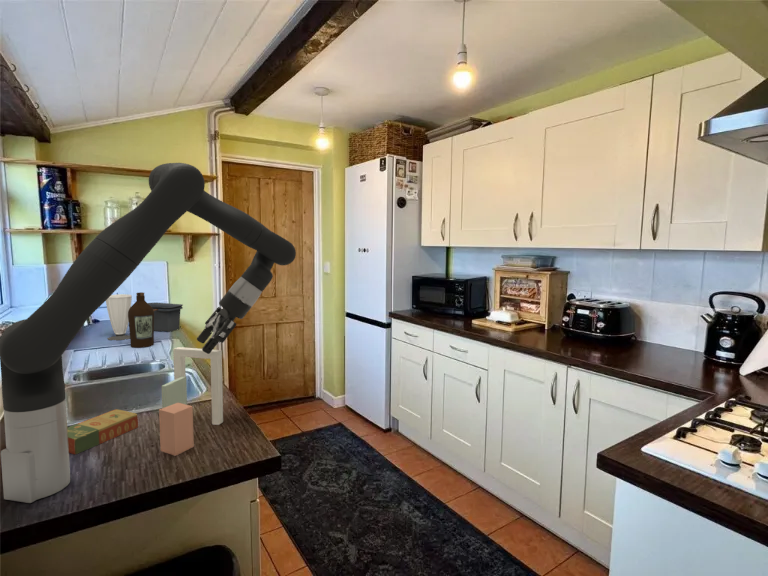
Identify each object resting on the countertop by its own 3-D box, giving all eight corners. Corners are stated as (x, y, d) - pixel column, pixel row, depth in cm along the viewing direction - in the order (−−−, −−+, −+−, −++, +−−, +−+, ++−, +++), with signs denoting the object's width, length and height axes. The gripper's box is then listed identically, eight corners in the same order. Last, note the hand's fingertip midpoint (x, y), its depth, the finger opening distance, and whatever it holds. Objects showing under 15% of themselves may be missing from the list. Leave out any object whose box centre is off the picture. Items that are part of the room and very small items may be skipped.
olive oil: (126, 345, 198) (124, 292, 195) (151, 342, 205) (149, 291, 203) (132, 349, 190) (130, 294, 188) (158, 345, 197) (156, 293, 195)
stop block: (175, 455, 96) (173, 413, 95) (160, 450, 98) (159, 409, 97) (193, 446, 100) (192, 406, 99) (179, 442, 103) (177, 402, 102)
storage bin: (186, 328, 238) (186, 303, 237) (167, 334, 223) (167, 307, 222) (153, 326, 242) (152, 302, 241) (132, 332, 227) (131, 305, 226)
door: (163, 431, 107) (161, 385, 106) (183, 419, 115) (182, 376, 114) (167, 432, 107) (165, 386, 106) (187, 419, 114) (186, 376, 113)
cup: (108, 336, 215) (106, 294, 213) (134, 334, 220) (133, 293, 218) (104, 341, 205) (102, 297, 203) (132, 339, 209) (130, 296, 207)
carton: (139, 428, 110) (138, 413, 110) (75, 456, 96) (74, 438, 95) (116, 423, 113) (116, 407, 113) (51, 449, 99) (50, 431, 98)
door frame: (218, 424, 113) (217, 351, 111) (175, 420, 115) (173, 348, 113) (223, 421, 115) (221, 350, 113) (180, 417, 117) (178, 347, 115)
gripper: (224, 284, 118) (186, 331, 115) (235, 295, 106) (194, 348, 104) (245, 299, 122) (209, 345, 119) (259, 311, 110) (219, 362, 108)
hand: (202, 346), depth 112 cm, fingers open, 8 cm apart
